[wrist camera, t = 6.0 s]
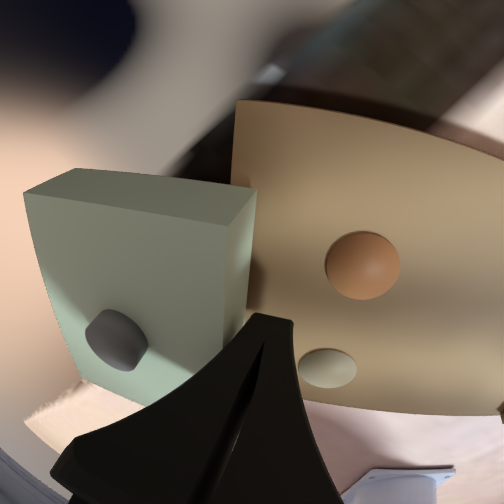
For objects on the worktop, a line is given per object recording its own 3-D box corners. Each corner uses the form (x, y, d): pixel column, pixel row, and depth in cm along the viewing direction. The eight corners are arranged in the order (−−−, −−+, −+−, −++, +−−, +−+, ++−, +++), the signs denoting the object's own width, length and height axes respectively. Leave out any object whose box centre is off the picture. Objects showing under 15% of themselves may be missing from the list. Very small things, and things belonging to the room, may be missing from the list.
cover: (238, 383, 13) (214, 447, 10) (109, 341, 15) (72, 388, 12) (257, 189, 9) (214, 243, 6) (75, 167, 10) (4, 202, 7)
